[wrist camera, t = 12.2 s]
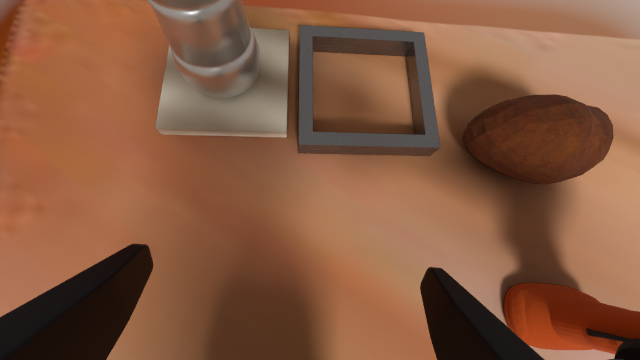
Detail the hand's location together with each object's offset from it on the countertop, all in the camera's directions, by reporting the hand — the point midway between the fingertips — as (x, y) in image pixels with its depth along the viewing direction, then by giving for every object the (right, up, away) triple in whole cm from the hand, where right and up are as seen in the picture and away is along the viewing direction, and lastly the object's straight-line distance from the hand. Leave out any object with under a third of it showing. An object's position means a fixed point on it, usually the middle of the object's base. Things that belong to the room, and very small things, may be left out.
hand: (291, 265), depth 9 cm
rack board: (-8, +12, +17) cm, 22 cm away
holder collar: (+5, +11, +18) cm, 21 cm away
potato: (+19, +5, +18) cm, 26 cm away
